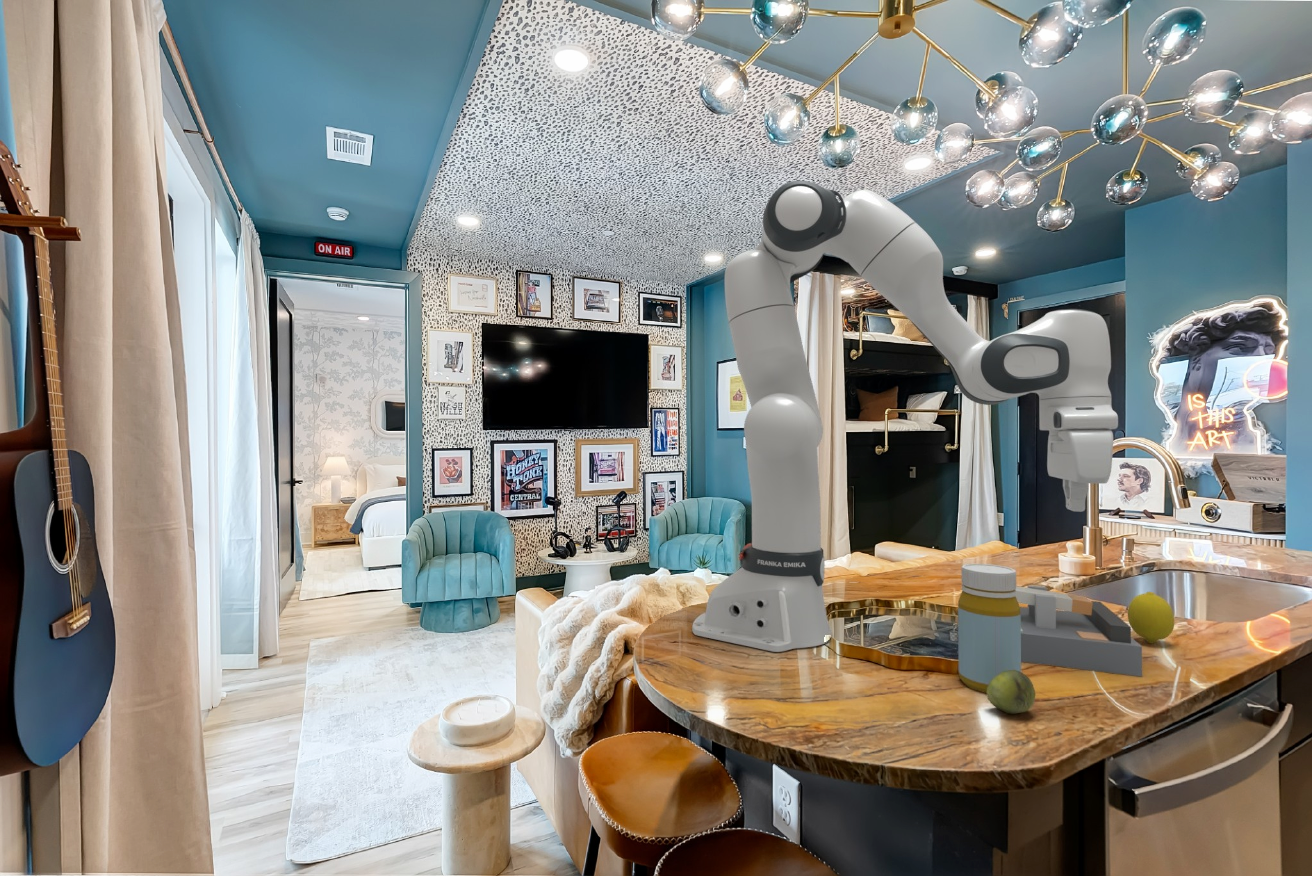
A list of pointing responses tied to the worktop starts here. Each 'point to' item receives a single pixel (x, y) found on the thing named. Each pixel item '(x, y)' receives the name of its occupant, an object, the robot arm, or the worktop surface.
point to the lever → (1062, 600)
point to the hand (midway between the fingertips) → (1075, 510)
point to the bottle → (988, 624)
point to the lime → (1011, 692)
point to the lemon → (1151, 617)
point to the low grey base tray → (1078, 638)
